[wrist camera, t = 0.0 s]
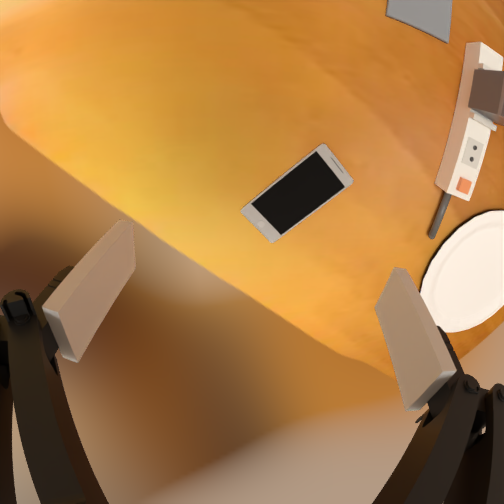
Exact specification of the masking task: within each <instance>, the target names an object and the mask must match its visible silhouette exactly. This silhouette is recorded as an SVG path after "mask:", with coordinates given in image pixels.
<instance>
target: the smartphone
mask: <svg viewBox="0 0 504 504" xmlns="http://www.w3.org/2000/svg"><path fill="white" fill-rule="evenodd" d="M353 181H354V180H353V179H352V178H351V176H350V175H349V174H348V172H347V171H346V170H345V168H344V167H343V166H342V165H341V163H340V162H339V161H338V159H337V158H336V157H335V156H334V154H333V153H332V152H331V151H330V149H329V148H328V147H327V146H326V144H324V143H323V144H320V145H319V146H318V147H316V148H315V149H314V150H313V151H311V152H310V153H309V154H308V155H306V156H305V157H304V158H303V159H301V160H300V161H299V162H298V163H296V164H295V165H294V166H293V167H291V168H290V169H289V170H288V171H286V172H285V173H284V174H283V175H281V176H280V177H279V178H278V179H277V180H275V181H274V182H273V183H272V184H270V185H269V186H268V187H267V188H266V189H264V190H263V191H262V192H261V193H259V194H258V195H257V196H256V197H255V198H253V199H252V200H251V201H250V202H249V203H247V204H246V205H245V206H244V207H243V208H242V209H241V213H242V214H243V215H244V216H245V217H246V218H247V219H248V220H249V221H250V222H251V223H252V224H253V225H254V226H255V227H256V228H257V229H258V230H259V231H260V232H261V233H262V234H263V235H264V236H265V237H266V238H267V239H268V240H269V241H270V242H271V243H273V242H275V241H277V240H278V239H279V238H281V237H282V236H283V235H285V234H286V233H287V232H289V231H290V230H291V229H293V228H294V227H295V226H297V225H298V224H299V223H301V222H302V221H303V220H305V219H306V218H307V217H309V216H310V215H311V214H313V213H314V212H315V211H317V210H318V209H319V208H321V207H322V206H323V205H325V204H326V203H327V202H329V201H330V200H331V199H333V198H334V197H335V196H337V195H338V194H339V193H341V192H342V191H343V190H345V189H346V188H347V187H349V186H350V185H351V184H352V183H353Z"/></svg>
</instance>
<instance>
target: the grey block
mask: <svg viewBox="0 0 504 504" xmlns="http://www.w3.org/2000/svg"><path fill="white" fill-rule="evenodd" d="M468 107H469V108H471V109H472V110H474V111H476V112H478V113H479V114H481V115H483V116H484V117H486V118H488V119H489V120H491V121H493V122H494V123H496V124H499V125H502V126H504V71H496V70H481V69H474V75H473V81H472V87H471V93H470V98H469V103H468Z"/></svg>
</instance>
